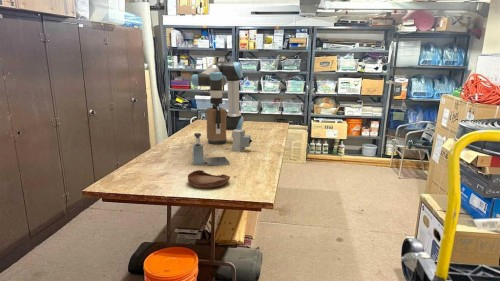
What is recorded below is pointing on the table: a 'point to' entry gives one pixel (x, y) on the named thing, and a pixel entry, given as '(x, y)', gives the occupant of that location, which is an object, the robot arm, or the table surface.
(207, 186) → the broken brown bowl
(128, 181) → the table surface
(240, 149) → the circuit breaker
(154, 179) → the table surface
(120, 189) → the table surface
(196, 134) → the plunger
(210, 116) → the wooden block
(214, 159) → the press
